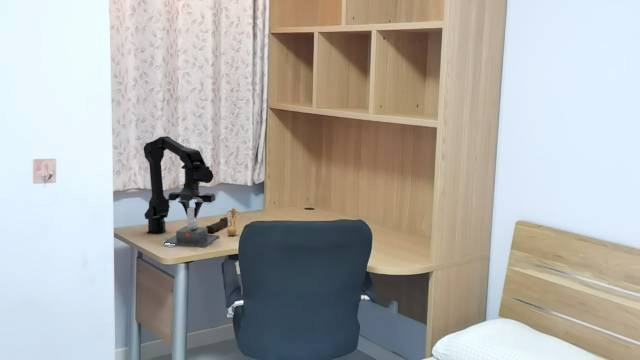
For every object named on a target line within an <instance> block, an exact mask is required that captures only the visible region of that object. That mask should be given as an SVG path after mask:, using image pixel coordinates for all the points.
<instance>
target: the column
mask: <svg viewBox="0 0 640 360" xmlns="http://www.w3.org/2000/svg"><path fill="white" fill-rule="evenodd" d="M186 217H187V218H186V221H187V225H186V226H187V229H192V230H196V229H197V227H198V223H197V222H198V221H197V219H198V216H197V217H196V218H195V206H189V208H187V215H186Z"/></svg>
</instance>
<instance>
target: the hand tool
mask: <svg viewBox="0 0 640 360" xmlns="http://www.w3.org/2000/svg"><path fill="white" fill-rule="evenodd" d="M228 218H229V217H226V216H225V218H224V217H222V218H220V219H219V221H217V222H215V223H211V224H210V225H206V226H205V227H206V228H207V233H208V235H213V234H214V233H215V232H216V231H219V230H221V229H225V228H227V227H228V226H229V219H228Z"/></svg>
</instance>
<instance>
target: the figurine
mask: <svg viewBox="0 0 640 360" xmlns="http://www.w3.org/2000/svg"><path fill="white" fill-rule="evenodd" d="M229 213H231V215H230V216H229V217H230V218H229V223H230V226H229V227H228V228H227V230H226V232H227V234H228V235H229V236H231V237H232V236H235V235H236V234H237V228H236V227H235V225H236V220H237V215H236V214H237V213H238V214H239V215H240V220H243V216H242V212H240V211H239V210H237V209H236V208H235V207H232V208H231V209H230V210H228V211H227V212H226V213H225V214H224V217H223V218H225V217H226V216H227V215H228V214H229ZM232 221H233V222H232ZM232 224H233V225H232Z"/></svg>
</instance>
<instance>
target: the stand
mask: <svg viewBox="0 0 640 360" xmlns="http://www.w3.org/2000/svg"><path fill="white" fill-rule="evenodd" d="M175 234H176V235H173V236H172V237H170V238H169V239H167V240H165V241H163V245H164V244H165V243H170V244H175V245H174V246H176V245H177V247H179V246H180V247H181V246H182V247H193V248H194V247H195V248H196V247H197V248H206V247H208V246H210V245H211V244H213V243H214V242H215V241H217V240H218V239H219V238H220V234H219V235H218V234H208V233H207V228H206V226H204V227H203V226H202V227H201V226H197V229H196V230H192V229H187V225H186V226H185V225H184V226H183V227H181V228H180V229H178V230H176V231H175Z"/></svg>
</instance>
